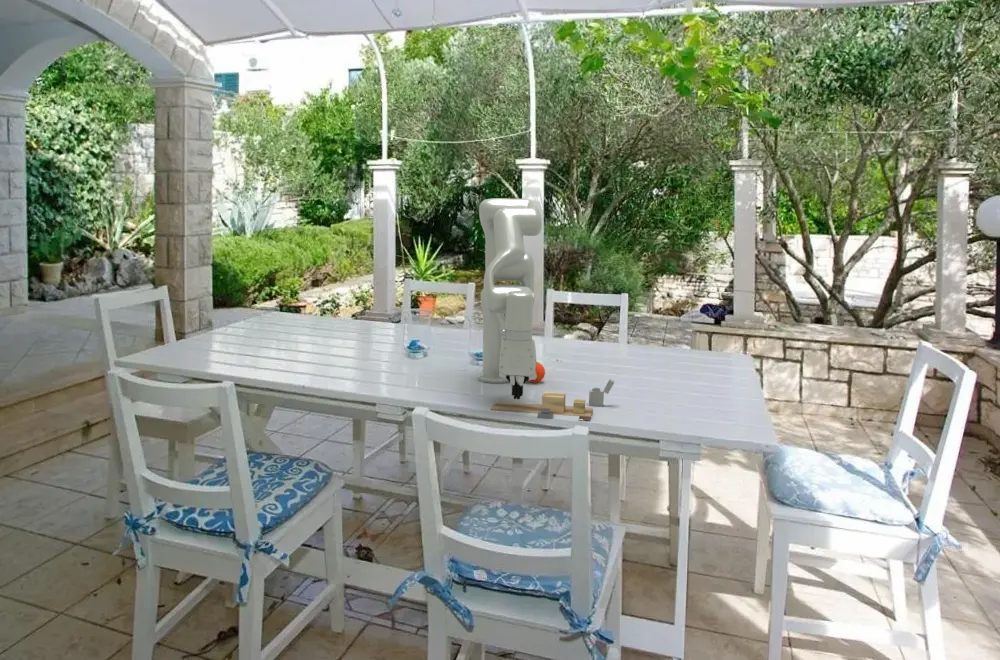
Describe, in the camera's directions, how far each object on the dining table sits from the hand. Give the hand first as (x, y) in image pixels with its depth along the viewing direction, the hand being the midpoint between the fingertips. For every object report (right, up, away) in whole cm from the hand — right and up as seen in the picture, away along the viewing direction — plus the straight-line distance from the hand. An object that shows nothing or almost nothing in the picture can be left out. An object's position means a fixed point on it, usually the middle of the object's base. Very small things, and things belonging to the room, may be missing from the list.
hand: (517, 397), depth 212 cm
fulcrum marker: (+8, -6, -9) cm, 13 cm away
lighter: (+25, -3, +7) cm, 26 cm away
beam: (+7, -4, -1) cm, 8 cm away
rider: (+10, -3, -3) cm, 11 cm away
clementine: (+6, +2, +33) cm, 33 cm away
